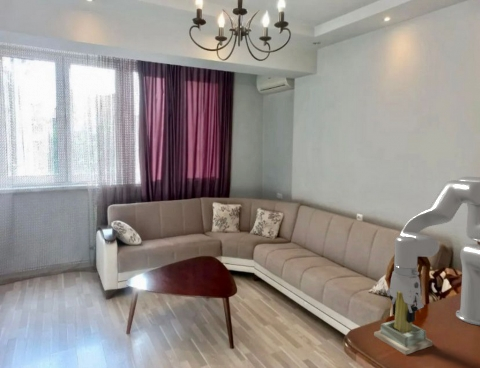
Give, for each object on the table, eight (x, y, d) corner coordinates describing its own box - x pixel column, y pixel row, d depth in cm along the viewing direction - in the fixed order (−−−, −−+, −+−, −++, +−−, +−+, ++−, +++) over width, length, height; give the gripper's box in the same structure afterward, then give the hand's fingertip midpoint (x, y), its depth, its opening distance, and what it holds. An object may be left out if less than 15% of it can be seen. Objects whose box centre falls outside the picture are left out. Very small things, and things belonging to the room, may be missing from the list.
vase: (414, 333, 124) (415, 294, 123) (396, 331, 125) (397, 293, 124) (409, 324, 130) (410, 288, 129) (392, 323, 131) (393, 287, 130)
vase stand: (400, 327, 137) (400, 315, 137) (432, 345, 125) (433, 332, 124) (374, 335, 131) (374, 323, 131) (405, 354, 119) (406, 341, 118)
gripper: (434, 276, 120) (431, 326, 121) (393, 262, 135) (391, 306, 137) (419, 279, 117) (417, 331, 118) (379, 265, 132) (377, 310, 134)
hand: (403, 317), depth 127 cm, fingers closed on vase, 5 cm apart
